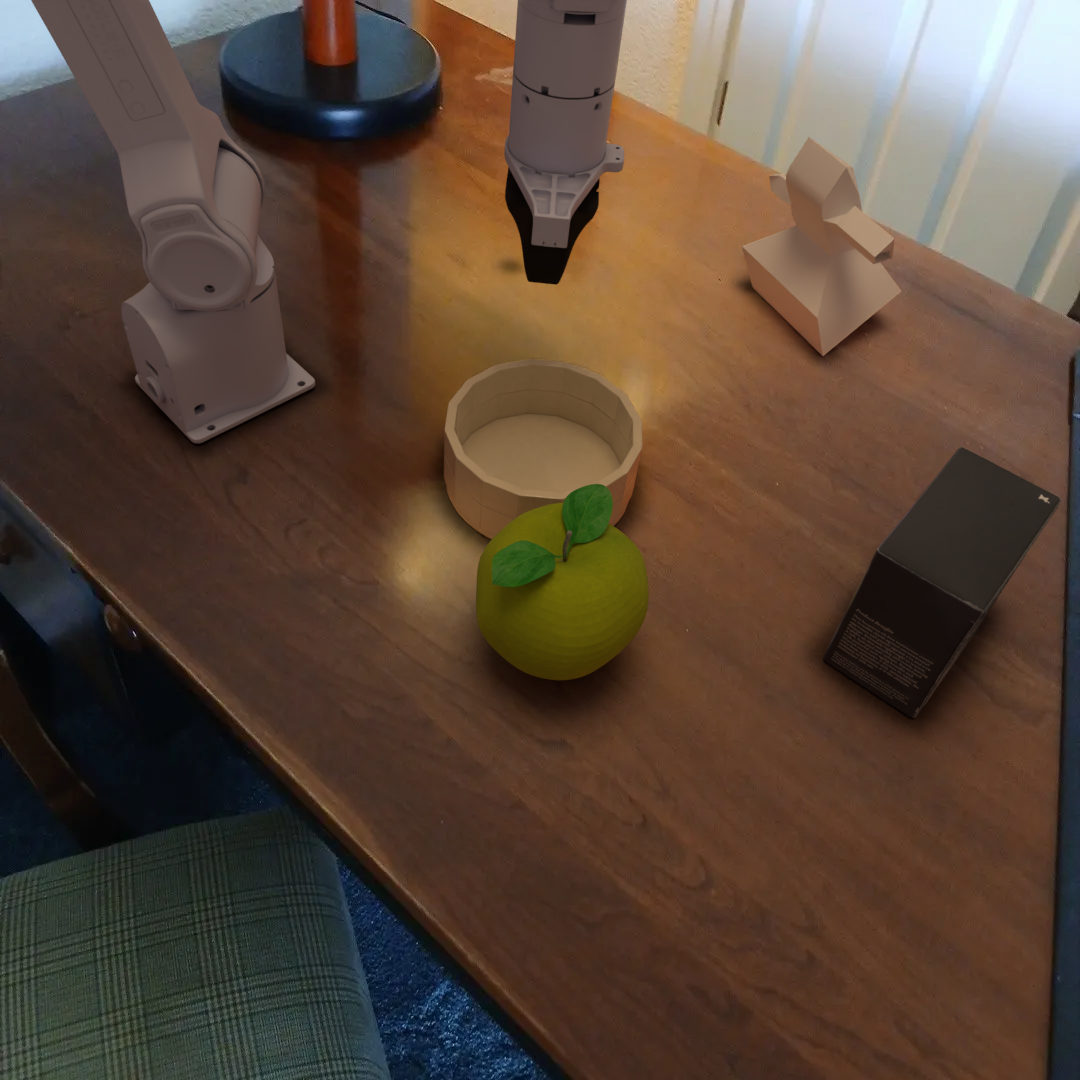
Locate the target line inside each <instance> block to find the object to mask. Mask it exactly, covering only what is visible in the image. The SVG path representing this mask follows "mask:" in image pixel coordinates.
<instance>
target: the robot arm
mask: <svg viewBox="0 0 1080 1080" xmlns="http://www.w3.org/2000/svg"><path fill="white" fill-rule="evenodd" d="M30 1H31V3H32V5H33V7H34V9H35V10H36V12H37V13H38V15H39V17H40V19H41V21H42V22H43V24H44V26H45V28H46V30H47V31H48V34H49V35H50V36H51V38H52V40H53V42H54V44H55V45H56V47H57V49H58V51H59V52H60V54H61V56H62V57H63V59H64V61H65V63H66V64H67V66H68V68H69V70H70V72H71V74H72V75H73V77H74V79H75V81H76V82H77V84H78V86H79V87H80V89H81V91H82V93H83V95H84V97H85V98H86V100H87V102H88V104H89V105H90V108H91V109H92V111H93V112H94V114H95V116H96V118H97V119H98V121H99V123H100V125H101V127H102V128H103V130H104V132H105V133H106V135H107V138H108V139H109V141H110V142H111V144H112V146H113V148H114V149H115V151H116V153H117V156H118V160H119V165H120V171H121V172H120V173H121V177H122V183H123V189H124V196H125V201H126V207H127V211H128V216H129V218H130V220H131V221H132V222H133V224H134V225H133V226H135V228H136V230H137V232H138V234H139V237H140V239H141V245H142V251H141V253H142V255H141V256H142V257H141V259H142V260H141V261H142V266H143V270H144V273H145V276H146V278H147V279H148V281H149V282H148V283H147V284H146V285H145V286H144V287H143V288H141V290H139V291H138V292H137V293H135V294H134V295H132V296H131V297H129V298H127V299H126V300H124V301H123V302H122V303H121V304H120V316H121V320H122V325H123V329H124V333H125V335H126V339H127V342H128V346H129V349H130V354H131V356H132V360H133V364H134V368H135V371H136V375H135V376H134V380H135V384H136V385H137V386H138V387H139V388H140V389H141V390H142V391H143V392H144V393H145V394H146V395H147V396H148V397H149V398H150V399H151V400H152V402H153V403H154V404H155V405H156V406H157V407H158V408H159V409H160V410H161V411H162V412H163V413H164V414H165V415H166V416H167V417H168V418H169V419H170V421H172V422H173V424H174V425H175V426H176V427H177V428H178V429H179V430H180V431H181V432H182V433H183V434H184V436H185V437H187V439H189V441H191V442H192V443H193V444H202V443H204V442H206V441H208V440H210V439H212V438H215V437H217V436H219V435H220V434H222V433H224V432H227V431H229V430H231V429H232V428H235V427H237V426H239V425H241V424H243V423H245V422H247V421H249V420H252V419H253V418H256V417H257V416H259V415H261V414H264V413H265V412H267V411H269V410H272V409H274V408H275V407H277V406H279V405H282V404H283V403H286V402H287V401H289V400H291V399H293V398H295V397H298V396H299V395H301V394H303V393H306V392H307V391H309V390H311V389H312V390H313V389H314V388H315V386H316V380H315V378H314V377H313V376H312V375H311V374H310V373H309V372H308V371H307V370H305V369H304V367H302V366H301V365H300V364H299V363H298V362H297V361H295V360H294V358H293V357H291V356H290V355H289V354H288V353H287V349H286V342H285V341H286V340H285V336H284V335H285V334H284V327H283V321H282V313H281V305H280V297H279V290H278V284H277V276H276V275H277V274H276V269H275V260H274V258H273V255H272V254H271V251H270V250H269V249H268V247H267V245H266V244H265V243H264V242H263V240H262V239H261V237H260V235H259V230H260V229H259V228H260V216H261V210H262V207H263V204H264V203H263V202H264V199H265V195H266V194H265V193H266V189H265V181H264V177H263V174H262V172H261V169H260V168H259V166H258V164H257V163H256V162H255V160H254V159H253V158H252V157H251V156H250V155H249V153H247V152H246V151H245V150H244V149H242V148H241V147H240V146H238V145H237V144H236V143H235V141H233V139H231V137H230V136H229V134H228V133H227V131H226V129H225V127H224V126H223V124H222V122H221V120H220V117H219V115H218V114H217V112H214V111H212V110H211V109H209V108H207V107H205V106H202V105H201V104H200V103H199V101H198V99H197V98H196V95H195V93H194V91H193V89H192V87H191V84H190V83H189V81H188V79H187V77H186V74H185V72H184V70H183V68H182V65H181V64H180V62H179V59H178V58H177V56H176V53H175V51H174V50H173V47H172V45H171V43H170V41H169V39H168V36H167V34H166V33H165V31H164V28H163V27H162V24H161V23H160V20H159V17H158V16H157V14H156V12H155V10H154V8H153V6H152V4H151V1H150V0H30ZM627 1H628V0H517V7H516V8H517V9H516V20H515V21H516V22H515V36H514V37H515V39H514V53H513V54H514V55H513V67H512V83H511V97H510V113H509V125H508V126H509V127H508V135H507V136H506V137H505V142H504V154H503V155H504V160H505V163H506V165H507V166H508V167H507V176H506V181H505V190H504V200H505V203H506V204H505V205H506V207H507V210H508V212H509V213H510V215H511V217H512V218H513V221H514V223H515V225H516V228H517V230H518V234H519V238H520V244H521V253H522V259H523V266H524V272H525V277H526V280H527V282H529V283H534V284H535V283H536V284H544V285H558V284H559V283H560V282H561V280H562V277H563V275H564V273H565V270H566V268H567V265H568V262H569V260H570V257H571V254H572V251H573V248H574V246H575V244H576V241H577V239H578V238H579V236H580V235H581V233H582V231H583V230H584V229H585V227H586V226H587V225H588V224H589V223H590V222H591V221H592V220H593V219H594V217H595V215H596V213H597V211H598V209H599V205H600V191H598V190H599V189H600V184H601V183H600V179H601V177H602V176H603V174H605V173H620V172H622V171H623V169H624V163H625V149H624V147H623V146H622V145H620V144H616V143H608V142H607V141H608V134H609V127H610V120H611V113H612V106H613V99H614V92H615V86H616V78H617V72H618V65H619V60H620V59H619V58H620V51H621V44H622V37H623V31H624V23H625V17H626V9H627V3H628V2H627Z"/></svg>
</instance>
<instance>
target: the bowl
mask: <svg viewBox="0 0 1080 1080" xmlns="http://www.w3.org/2000/svg"><path fill="white" fill-rule="evenodd" d="M443 436H444V438H443V443H444V444H443V450H444V451H443V480H444V483H445V489H446V492H447V496H448V498H449V500H450V503H451V504H452V506H453V508H454V509H455V511H456V512H457V514H458V515H459V516H460V517H461V518H462V520H464V522H466V524H468V525H469V526H470V527H471V528H473V529H474V530H475V531H476V532H478V533H479V534H481V535H483V536H484V537H486V538H487V539H490V540H492V539H493V538H494V536H496V535H497V534H498V533H499V532H500V531H501V530H502V529H503V528H504V527H505V526H506V525H508V524H509V523H510V522H511V521H513V520H514V519H515V518H517V517H518V516H520V515H521V514H523V513H525V512H527V511H530V510H532V509H535V508H538V507H542V506H545V505H549V504H555V503H564V500H565V498H566V497H567V496H568V495H569V494H570V493H571V492H573V491H574V490H576V489H578V488H581V487H584V486H587V485H591V484H601V485H604V486H605V487H607V488H608V490H609V491H610V493H611V495H612V499H613V509H612V514H611V517H610V520H609V524H611V525H613V526H614V527H615V525H616V524H617V523H618V522H619V521H620V519H621V518H622V517H623V516H624V514H625V512H626V509H627V508H628V506H629V501H630V499H631V498H632V496H633V492H634V488H635V483H636V479H637V473H638V470H639V465H640V461H641V456H642V452H643V421H642V418H641V416H640V415H639V413H638V411H637V409H636V408H635V405H634V404H633V403H632V400H631V399H630V396H628V394H627V393H625V392H624V391H623V390H622V389H621V388H619V387H618V386H616V385H615V384H613V383H612V382H611V381H610V380H608V379H607V378H606V377H604V375H602V374H600V373H598V372H595V371H592V370H589V369H587V368H585V367H581V366H578V365H576V364H573V363H571V362H567V361H560V360H559V361H558V360H549V359H539V358H526V359H521V360H514V361H508V362H505V363H498V364H494V365H491V366H490V367H489V368H486V369H485V370H483V371H481V372H479V373H476V374H475V375H473V376H471V377H470V378H467V379H466V380H465V382H463V384H462V385H461V387H460V388H458V390H457V391H456V393H455V394H454V395H453V396H452V398H451V399H450V400H449V401H448V403H447V409H446V418H445V423H444V435H443Z"/></svg>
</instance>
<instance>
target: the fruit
mask: <svg viewBox="0 0 1080 1080" xmlns="http://www.w3.org/2000/svg"><path fill="white" fill-rule="evenodd" d="M612 509H613V499H612V495H611V493H610V491H609V490H608V488H607V487H605V486H604V485H601V484H591V485H587V486H584V487H581V488H578V489H576V490H574V491H573V492H571V493H570V494H569V495H568V496H567V497H566V498H565V500H564V503H555V504H549V505H545V506H542V507H538V508H535V509H532V510H530V511H527V512H525V513H523V514H521V515H520V516H518V517H517V518H515V519H514V520H513V521H511V522H510V523H509V524H508V525H506V526H505V527H504V528H503V529H502V530H501V531H500V532H499V533H498V534H497V535H496V536H494V538H493V539H490V541H489V542H488V543H487V544H486V546H485V547H484V549H483V551H482V552H481V555H480V557H479V560H478V565H477V572H476V587H475V588H476V589H475V613H476V614H475V615H476V623H477V625H478V629H479V631H480V632H481V633H480V634H481V635H482V636H483V638H484V639H485V640H486V642H487V644H489V645H490V646H491V648H492V649H493V650H494V651H495V652H497V654H498V655H500V656H501V657H502V658H503V659H504V660H506V662H508V663H509V664H510V665H512V666H513V667H515V668H516V669H517V670H519V671H521V672H523V673H525V674H528V675H529V676H533V677H536V678H540V679H545V680H551V681H552V680H553V681H569V680H575V679H579V678H583V677H585V676H588V675H590V674H592V673H594V672H596V671H597V670H598V669H600V668H602V667H603V666H605V665H606V664H607V663H609V662H610V661H611V660H613V659H614V658H615V657H617V655H619V654H620V653H621V652H622V651H623V650H624V649H626V647H628V646H629V644H630V643H631V642H632V640H634V639H635V637H636V636H637V635H638V633H639V631H640V630H641V628H642V626H643V624H644V623H645V620H646V616H647V613H648V609H649V601H650V600H649V598H650V597H649V596H650V593H649V590H650V589H649V580H648V579H649V577H648V572H647V567H646V562H645V559H644V556H643V554H642V552H641V551H640V548H638V546H637V545H636V544H635V542H634V541H633V540H632V539H631V538H630V537H628V536H627V534H624V533H623V532H622V531H621V530H620V529H618V528H617V527H615V525H614V526H613V525H611V524H609V520H610V517H611V514H612Z"/></svg>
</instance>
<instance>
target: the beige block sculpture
mask: <svg viewBox="0 0 1080 1080" xmlns="http://www.w3.org/2000/svg"><path fill="white" fill-rule="evenodd" d="M768 179H769V185H770V191H771V193H772V194H774V195H775V196H776V197H777V198H779V200H781V201H782V203H785V204H787V205H789V206H790V211H791V216H792V219H793V221H794V223H795V225H794V226H791V227H789V228H786V229H783V230H781V231H778V232H774V233H773V234H770V235H768V236H765V237H762V238H759V239H757V240H754V241H752V242H749V243H746V244H744V245H741V249H742V252H743V257H744V260H745V264H746V268H747V272H748V275H749V279H750V282H751V287H752V289H753V290H754V291H756V293H758V294H759V296H761V298H762V299H764V300H765V302H767V303H768V304H769V305H770V306H771V307H772V308H773V309H774V311H776V312H777V313H778V314H779V315H780V316H781V317H782V318H783V319H784V320H785V321H786V322H787V323H788V324H789V325H790V326H791V327H792V328H793V329H794V330H795V331H796V332H797V333H798V334H799V335H800V336H802V338H803V339H805V341H807V343H808V344H809V345H811V346H812V347H813V348H814V349H815V350H816V351H817V352H818V353H819V354H820V355H821V356H822V357H824V356H825V355H826V354H828V353H829V352H830V351H831V350H832V349H834V348H835V347H836V346H837V345H839V344H840V343H841V342H843V340H844V339H846V338H847V337H848V336H850V335H851V334H852V333H853V332H855V330H857V329H858V328H859V327H860V326H862V325H863V324H864V323H865V322H866V321H867V320H869V319H870V318H871V317H872V316H874V315H875V314H876V313H877V312H878V311H880V310H881V309H882V308H883V307H885V306H886V305H887V304H888V303H889V302H890V301H892V300H893V299H894V298H896V297H897V296H898V295H900V293H902V290H901V288H900V287H899V285H898V284H897V283H896V282H895V280H894V279H893V278H892V276H891V275H890V274H889V272H888V271H887V269H886V268H885V267H884V265H883V264H882V263H884V262H886V261H891V260H893V256H894V255H893V253H894V247H895V238H894V237H893V236H892V235H891V234H890V233H889V232H888V231H886V230H885V229H883V228H882V227H881V226H880V225H879V224H878V223H877V222H875V221H874V220H873V219H872V218H871V217H869V216H868V214H866V213H864V212H863V207H862V204H861V203H862V201H861V196H860V195H861V194H860V191H859V188H858V187H859V186H858V183H857V179H856V174H855V170H854V167H853V166H852V165H850V164H848V163H847V162H846V161H844V160H843V159H842V158H840V157H839V156H837V155H835V154H834V153H833V152H831V151H830V150H829V149H827V148H826V147H824V146H822V145H821V144H820V143H818V142H817V141H816V140H814V139H812V138H811V137H810V136H807V139H806V140H805V142H804V144H803V145H802V146H801V148H800V150H799V151H798V152H797V154H796V156H795V157H794V159H793V161H792V162H791V163H790V165H789V166H788V169H787V171H786V173H774V174H769V175H768Z"/></svg>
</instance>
